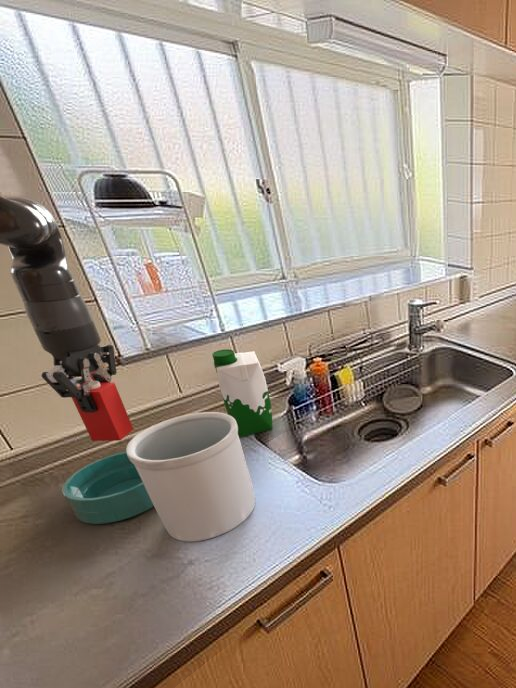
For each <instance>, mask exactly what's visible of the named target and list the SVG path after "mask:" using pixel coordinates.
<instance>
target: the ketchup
mask: <svg viewBox="0 0 516 688" xmlns="http://www.w3.org/2000/svg"><path fill="white" fill-rule="evenodd" d="M77 389H81V386H80V385H79V386H77ZM89 389H90V394H92V396H93V398H94V400H95V403H96V405H97V407H98V410H97V411H96V412H88V413H86V412H83V411H82V410H81V409H80V407H79V405H78V403H77V401H76V399H75V397H71V400H72V402H73V403H74V405H75V408H76V410H77V412H78V414H79V416H80V418H81V420H82V423H83V425H84V427H85V429H86V431H87V433H88V435H89V438H90V439H91V441H92V442H108V441H110V442H111V441H117V442H118V441H122V440H123V439H124V438H126V436H128V435H129V434H130V433H131V432H132V431H134V426H133V424H132V422H131V419H130V417H129V415H128V412H127V410H126V407H125V405H124V402H123V400H122V398H121V396H120V393H119V390H118V388H117V385H116V383H115V382H110V383H104V382H99V381H93V380H91V382H89Z"/></svg>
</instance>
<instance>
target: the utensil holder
mask: <svg viewBox="0 0 516 688" xmlns="http://www.w3.org/2000/svg"><path fill="white" fill-rule="evenodd" d="M125 448H126V449H125V452H126V453H127V456H128V458H129V460H130V461H131V462H132V463H133V464H134V465H135V467H136V469H137V471H138V473H139V475H140V477H141V480H142V482H143V484H144V486H145V488H146V490H147V492H148V494H149V497H150V499H151V501H152V503H153V505H154V506H153V507H154V509H155V511H156V513H157V515H158V517H159V519H160V521H161V522H162V524H163V527H164V528H165V530H166V532H167V533H168V535H169V536H170V537H171V538H173V539H174V540H177V541H181V542H200V541H206V540H210V539H213V538H215V537H218V536H221V535H224V534H226V533H227V532H230V531H232V530H233V529H234V528H236V527H237V526H239V525H240V524H242V523H243V522H244V521H245V520H246V519H247V518H248V517H249V516H250V515H251V514H252V513H253V511H254V508H255V506H256V497H255V491H254V488H253V482H252V479H251V475H250V471H249V468H248V465H247V462H246V458H245V457H246V456H245V455H244V451H243V447H242V443H241V440H240V437H239V436H238V426H237V423H236V420H235V419H234V418H233V417H232V416H230V415H228V413H224V412H217V411H204V412H195V413H190V414H183V415H179V416H176V417H172V418H169V419H165V420H163V421H161V422H158V423H156V424H153V425H151V426H150V427H147V428H145V429H143V430H141V431H140V432H138V433H136V435H135V436H133V437H132V438H131V439H130V441H129V442H128V444H127V445H126V447H125Z"/></svg>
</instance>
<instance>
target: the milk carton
mask: <svg viewBox="0 0 516 688" xmlns="http://www.w3.org/2000/svg"><path fill="white" fill-rule="evenodd" d="M212 357H213V366H214V368H215V372H216V374H217V382H218V385H219V386H218V387H219V390H220V393H221V396H222V400H223V403H224V407H225V410H226V414H228V415H230V416H232V417H233V418H234V419H235V420H236V423H237V426H238V436H239V438H242V437H247V436H251V435H255V434H260V433H264V432H268V431H271V430H273V410H272V403H271V402H272V401H271V397H270V392H269V388H268V385H267V381H266V376H265V374H264V371H263V368H262V366H261V364H260V361H259V359H258V356H257V354H256V352H255V350H253V351H252V350H251V351H247V352H246V351H245V352H236V353H235V351H234V350H233V349H228V348H227V349H219V350H216V351H214V352H213V353H212Z"/></svg>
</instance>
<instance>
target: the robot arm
mask: <svg viewBox="0 0 516 688" xmlns="http://www.w3.org/2000/svg"><path fill="white" fill-rule="evenodd" d="M0 245H1V246H5V247H7V249H8V252H9V254H10V257H11V264H10V267H9V272H10V273H9V274H10V277H11V280H12V282H13V284H14V285H15V288H16V290H17V292H18V294H19V296H20V298H21V301H22V303H23V307H24V311H25V314H26V316H27V317H28V320H29V322H30V324H31V327H32V329H33V331H34V333H35V335H36V337H37V339H38V342H40V345H41V348H42V349H43V350H44V351H45V352H47V353H48V354H49V355H51V356H52V358H53V359H52V360H53V368H51V370H50V371H43V372H42V373H41V378H42V379H43V380H44V381H45V382H46V383H47V384H48V385H49V386H50V387H51V388H52V389H53V390H54V391H55V392H56V393H57V394H58V395H59V396H60V398H64V399H65V398H72V397H75V399H76V401H77V403H78V405H79V407H80V409H81V410H82V411H83V412H86V413H88V412H96V411H97V410H98V407H97V405H96V403H95V400H94V398H93V396H92V394H90V389H89V382H91V381H99V382H104V383H111V382H112V376H115V375H117V373H118V372H117V365H116V356H115V348H114V346H113V345H112V344H100V343H101V342H102V339H101V336H100V334H99V332H98V329H97V327H96V324H95V322H94V319H93V317H92V314H91V312H90V309H89V307H88V304H87V303H86V302H85V300H84V298H83V297H82V295H81V292H80V290H79V287H78V285H77V283H76V280H75V278H74V276H73V273H72V272H71V270H70V268H69V267H70V266H69V264H68V260H67V259H68V258H67V253H66V249H65V244H64V241H63V237H62V233H61V230H60V227H59V224H58V222H57V221H56V219H55V217H54V216H53V214H52V213H51V211H49V210H48V209H47V208H46V207H45V206H44V205H42V204H41V203H39V202H37V201H36V200H32V199H30V198H27V197H23V196H7V197H4V196H1V195H0ZM106 364H107V366H108V367H107V366H106ZM78 385H79V386H81V389H77V387H78Z"/></svg>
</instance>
